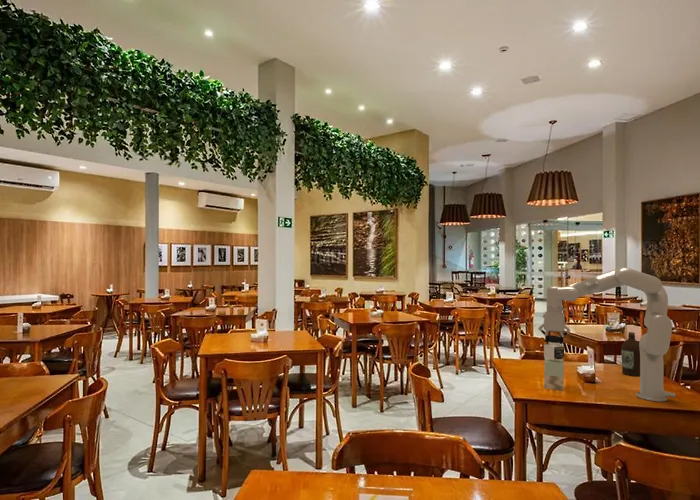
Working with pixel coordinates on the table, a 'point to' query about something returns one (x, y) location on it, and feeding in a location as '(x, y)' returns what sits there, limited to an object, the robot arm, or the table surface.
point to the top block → (554, 367)
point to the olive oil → (630, 356)
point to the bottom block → (553, 382)
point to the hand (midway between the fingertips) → (554, 343)
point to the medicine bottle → (554, 348)
